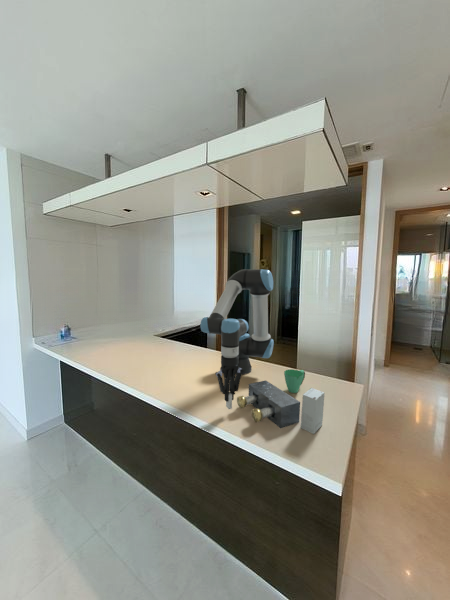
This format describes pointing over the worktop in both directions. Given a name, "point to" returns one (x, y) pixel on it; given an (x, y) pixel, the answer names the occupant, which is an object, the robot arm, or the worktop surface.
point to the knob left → (247, 400)
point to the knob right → (262, 413)
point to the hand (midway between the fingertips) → (228, 407)
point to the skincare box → (312, 410)
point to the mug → (294, 379)
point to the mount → (276, 403)
